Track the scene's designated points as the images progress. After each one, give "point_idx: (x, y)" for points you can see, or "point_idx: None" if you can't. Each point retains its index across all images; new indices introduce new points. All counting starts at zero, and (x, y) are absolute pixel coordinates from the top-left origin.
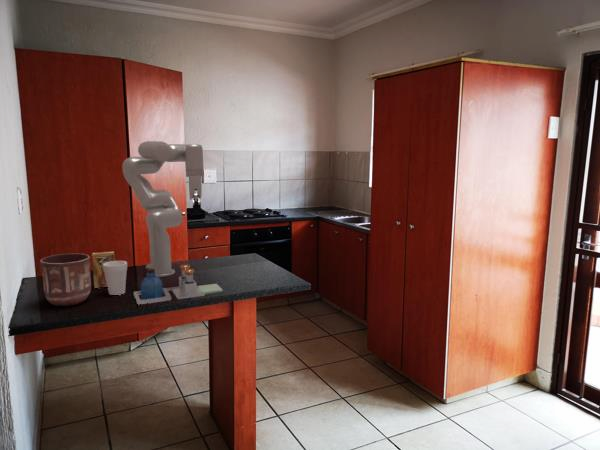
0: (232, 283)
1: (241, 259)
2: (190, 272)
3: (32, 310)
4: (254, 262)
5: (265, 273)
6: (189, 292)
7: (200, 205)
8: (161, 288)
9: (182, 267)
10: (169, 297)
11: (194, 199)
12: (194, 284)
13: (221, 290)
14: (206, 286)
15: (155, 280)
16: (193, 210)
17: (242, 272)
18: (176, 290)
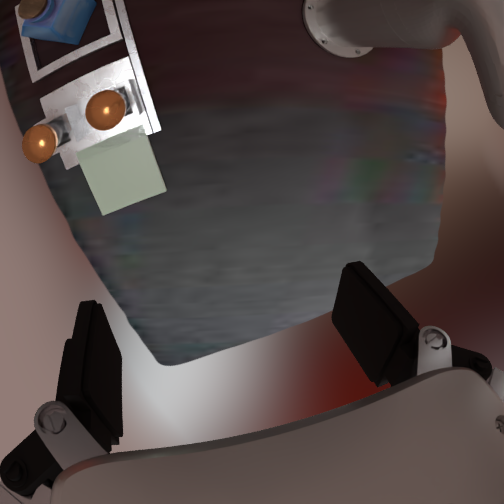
0: (182, 232)
1: (407, 243)
2: (26, 152)
3: None
4: None
5: (266, 302)
6: None
7: (363, 358)
8: (63, 41)
9: (87, 103)
10: (32, 78)
11: (5, 480)
12: None
13: (102, 211)
14: (138, 163)
15: (31, 30)
16: (77, 332)
17: (292, 251)
18: (106, 75)
